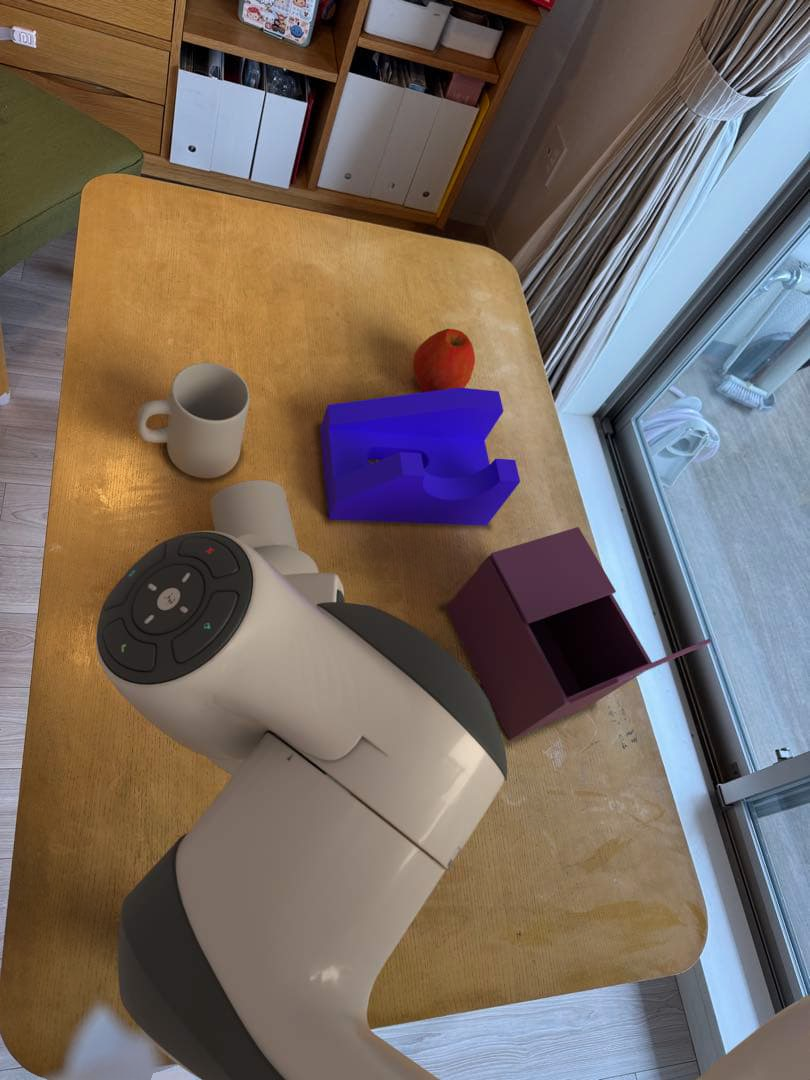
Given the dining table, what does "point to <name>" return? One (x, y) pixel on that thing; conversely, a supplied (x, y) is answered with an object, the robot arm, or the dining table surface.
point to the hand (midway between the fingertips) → (337, 763)
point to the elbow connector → (261, 523)
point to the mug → (201, 419)
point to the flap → (639, 670)
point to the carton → (544, 630)
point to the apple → (444, 361)
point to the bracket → (415, 458)
